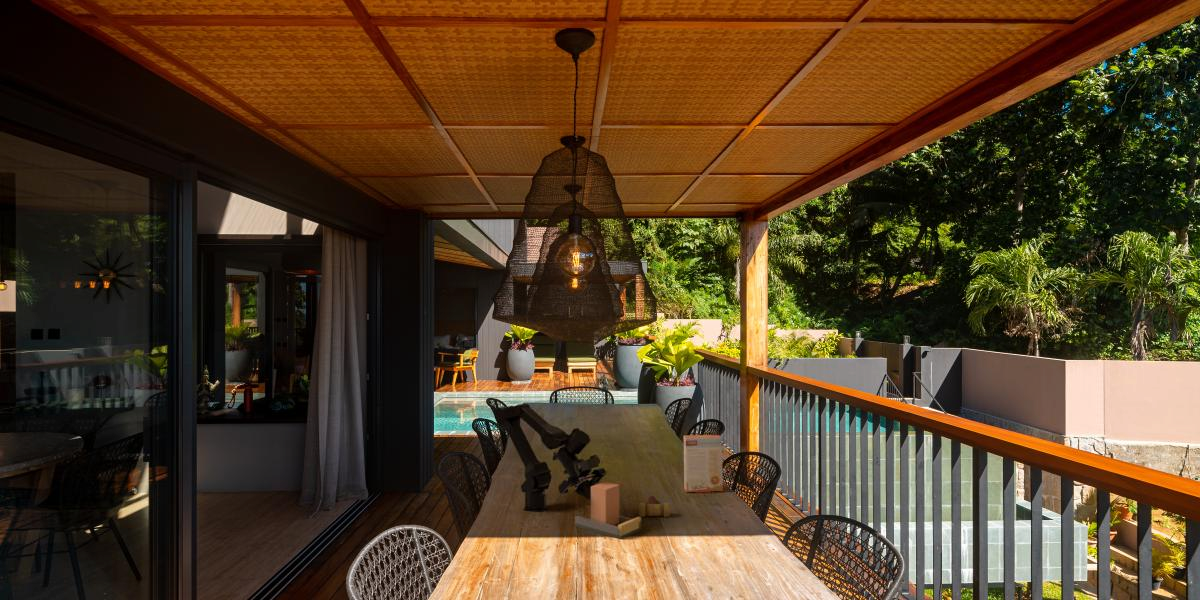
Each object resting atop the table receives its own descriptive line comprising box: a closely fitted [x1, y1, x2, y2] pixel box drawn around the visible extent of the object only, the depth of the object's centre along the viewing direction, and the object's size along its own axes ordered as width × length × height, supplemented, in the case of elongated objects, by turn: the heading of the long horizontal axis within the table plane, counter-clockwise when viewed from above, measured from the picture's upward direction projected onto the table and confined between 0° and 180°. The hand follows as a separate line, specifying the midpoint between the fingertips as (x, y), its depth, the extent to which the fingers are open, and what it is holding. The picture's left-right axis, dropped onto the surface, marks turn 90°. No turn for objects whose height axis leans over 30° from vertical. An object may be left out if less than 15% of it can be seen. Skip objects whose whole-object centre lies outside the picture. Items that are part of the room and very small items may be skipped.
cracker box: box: [683, 434, 724, 493], centre depth 247 cm, size 14×6×21 cm, turn 92°
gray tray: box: [574, 514, 642, 540], centre depth 204 cm, size 18×10×4 cm, turn 51°
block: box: [590, 481, 620, 525], centre depth 205 cm, size 6×7×12 cm
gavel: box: [638, 495, 671, 518], centre depth 225 cm, size 21×5×10 cm
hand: (597, 502), depth 207 cm, fingers closed, pressing on block
